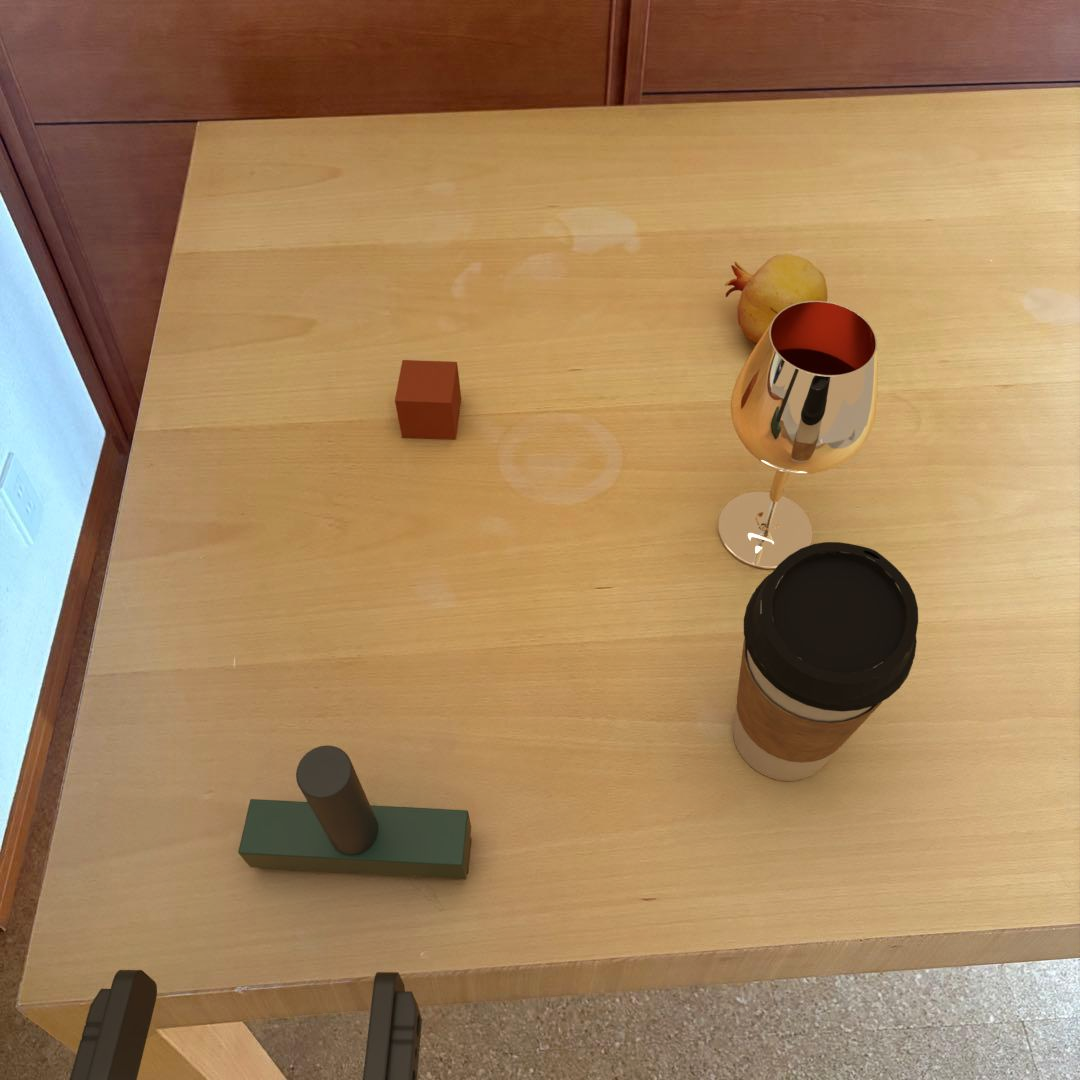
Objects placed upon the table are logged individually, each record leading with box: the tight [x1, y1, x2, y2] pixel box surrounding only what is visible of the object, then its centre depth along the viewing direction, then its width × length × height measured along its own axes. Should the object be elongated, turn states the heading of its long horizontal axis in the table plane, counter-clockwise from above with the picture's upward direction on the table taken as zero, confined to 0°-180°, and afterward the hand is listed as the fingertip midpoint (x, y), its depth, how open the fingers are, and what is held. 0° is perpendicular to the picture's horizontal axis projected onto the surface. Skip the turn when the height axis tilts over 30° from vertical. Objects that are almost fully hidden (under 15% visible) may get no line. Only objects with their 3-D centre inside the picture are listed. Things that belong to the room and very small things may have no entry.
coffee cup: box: [732, 541, 919, 782], centre depth 54 cm, size 8×8×15 cm
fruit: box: [724, 253, 828, 344], centre depth 77 cm, size 7×7×10 cm
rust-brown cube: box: [394, 359, 462, 440], centre depth 73 cm, size 4×4×4 cm
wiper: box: [237, 745, 472, 880], centre depth 52 cm, size 12×3×12 cm, turn 87°
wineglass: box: [717, 301, 879, 570], centre depth 62 cm, size 8×8×18 cm
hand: (263, 977), depth 34 cm, fingers open, 8 cm apart
